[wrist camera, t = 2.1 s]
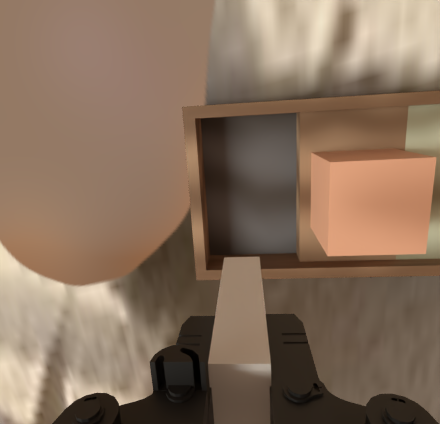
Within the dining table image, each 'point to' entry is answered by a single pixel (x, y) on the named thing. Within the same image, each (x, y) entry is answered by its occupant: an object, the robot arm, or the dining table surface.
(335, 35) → the dining table surface
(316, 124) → the trap box
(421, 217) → the block
